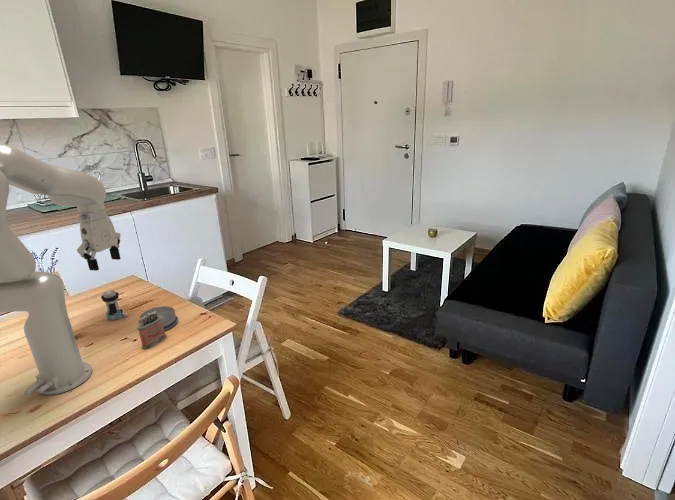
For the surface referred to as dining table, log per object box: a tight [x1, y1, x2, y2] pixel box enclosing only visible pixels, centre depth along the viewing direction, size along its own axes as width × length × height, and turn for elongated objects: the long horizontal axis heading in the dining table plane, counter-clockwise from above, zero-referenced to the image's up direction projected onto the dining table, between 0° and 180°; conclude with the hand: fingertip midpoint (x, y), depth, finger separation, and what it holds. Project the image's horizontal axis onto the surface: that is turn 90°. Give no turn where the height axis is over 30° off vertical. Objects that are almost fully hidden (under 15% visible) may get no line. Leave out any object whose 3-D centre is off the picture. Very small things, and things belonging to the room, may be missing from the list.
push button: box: [100, 289, 128, 321], centre depth 134 cm, size 7×5×10 cm
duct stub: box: [138, 305, 179, 332], centre depth 130 cm, size 12×12×4 cm
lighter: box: [136, 311, 167, 350], centre depth 119 cm, size 8×3×10 cm, turn 154°
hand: (105, 264), depth 129 cm, fingers open, 9 cm apart
